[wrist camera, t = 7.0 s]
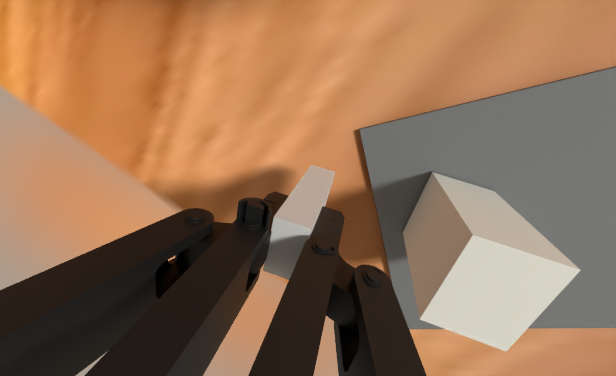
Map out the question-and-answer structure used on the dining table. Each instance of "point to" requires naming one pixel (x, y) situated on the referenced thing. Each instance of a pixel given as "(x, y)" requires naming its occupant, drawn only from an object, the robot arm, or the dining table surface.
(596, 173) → the mat
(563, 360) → the dining table surface
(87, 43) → the dining table surface
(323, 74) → the dining table surface
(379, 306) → the robot arm
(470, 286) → the white block
